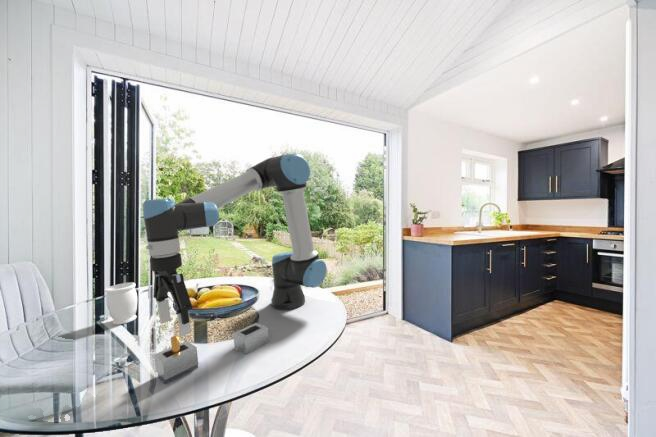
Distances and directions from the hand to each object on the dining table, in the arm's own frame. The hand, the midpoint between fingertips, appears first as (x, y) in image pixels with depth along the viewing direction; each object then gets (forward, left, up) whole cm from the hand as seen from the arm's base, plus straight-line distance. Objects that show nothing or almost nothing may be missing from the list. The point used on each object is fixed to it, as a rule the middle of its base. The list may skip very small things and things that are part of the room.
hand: (175, 327), depth 82 cm
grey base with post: (0, 0, -13) cm, 13 cm away
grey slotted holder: (-21, +5, -13) cm, 25 cm away
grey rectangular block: (+1, 0, -12) cm, 12 cm away
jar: (-2, -58, -13) cm, 60 cm away
